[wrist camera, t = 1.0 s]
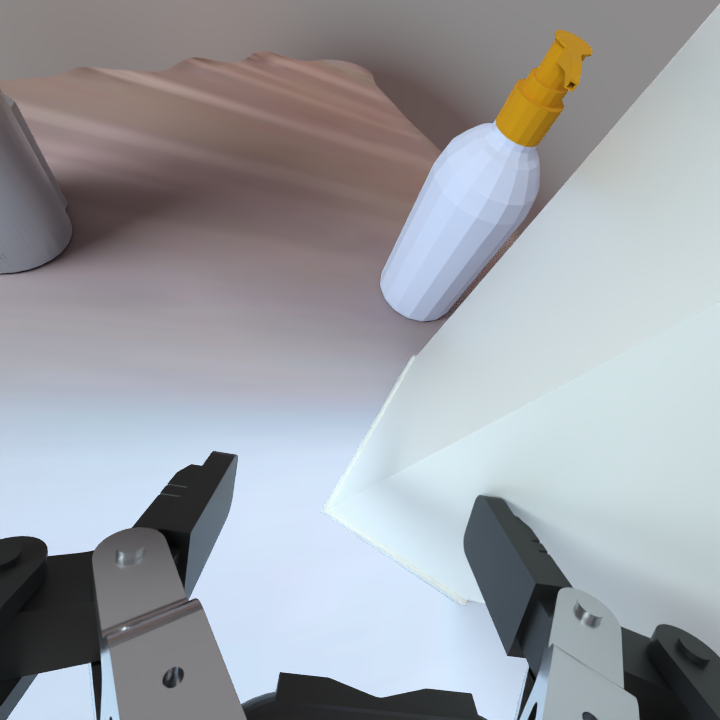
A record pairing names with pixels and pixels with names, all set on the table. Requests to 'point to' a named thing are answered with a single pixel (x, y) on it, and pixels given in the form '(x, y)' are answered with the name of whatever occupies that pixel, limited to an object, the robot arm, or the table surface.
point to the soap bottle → (479, 191)
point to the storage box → (579, 381)
